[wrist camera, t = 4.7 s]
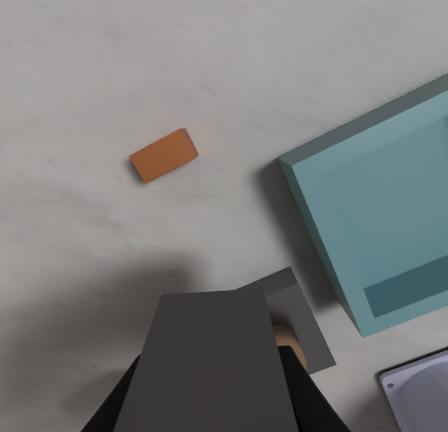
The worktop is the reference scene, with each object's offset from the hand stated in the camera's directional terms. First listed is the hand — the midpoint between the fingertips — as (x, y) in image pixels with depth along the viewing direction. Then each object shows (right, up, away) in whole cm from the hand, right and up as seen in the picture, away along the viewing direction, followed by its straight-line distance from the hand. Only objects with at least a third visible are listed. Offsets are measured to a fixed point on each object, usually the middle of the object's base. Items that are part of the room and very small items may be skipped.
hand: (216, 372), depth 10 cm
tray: (+11, +7, +7) cm, 15 cm away
